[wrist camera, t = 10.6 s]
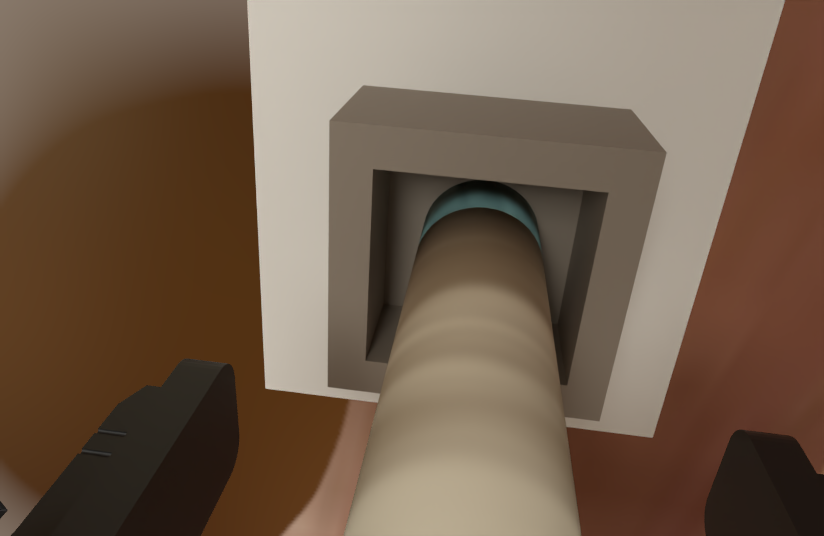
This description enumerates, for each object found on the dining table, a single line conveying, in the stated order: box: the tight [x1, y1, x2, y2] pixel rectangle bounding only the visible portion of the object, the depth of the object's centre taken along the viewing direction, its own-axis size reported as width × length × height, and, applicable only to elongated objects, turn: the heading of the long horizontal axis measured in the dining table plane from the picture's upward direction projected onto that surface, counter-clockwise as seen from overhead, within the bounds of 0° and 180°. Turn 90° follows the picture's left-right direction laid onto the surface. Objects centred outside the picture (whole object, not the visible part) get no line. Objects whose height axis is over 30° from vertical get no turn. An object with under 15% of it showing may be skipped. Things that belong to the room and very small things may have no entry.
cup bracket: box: [247, 0, 785, 438], centre depth 19 cm, size 20×16×9 cm
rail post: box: [344, 180, 581, 536], centre depth 13 cm, size 3×3×12 cm
